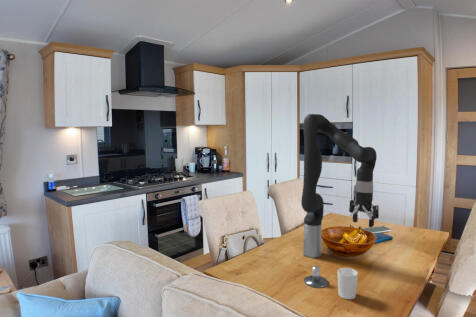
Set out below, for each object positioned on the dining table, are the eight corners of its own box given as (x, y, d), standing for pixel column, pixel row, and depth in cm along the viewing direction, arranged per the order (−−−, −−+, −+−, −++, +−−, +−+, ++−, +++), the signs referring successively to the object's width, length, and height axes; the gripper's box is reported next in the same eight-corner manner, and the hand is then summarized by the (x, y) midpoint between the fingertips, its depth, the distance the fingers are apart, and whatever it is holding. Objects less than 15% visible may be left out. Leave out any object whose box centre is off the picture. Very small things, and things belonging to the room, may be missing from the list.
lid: (302, 286, 139) (302, 271, 138) (305, 275, 149) (305, 261, 148) (327, 289, 136) (327, 274, 135) (328, 278, 146) (328, 263, 145)
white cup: (334, 290, 135) (334, 268, 134) (352, 289, 135) (352, 267, 134) (341, 301, 127) (342, 276, 126) (360, 299, 127) (361, 275, 126)
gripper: (346, 188, 152) (345, 221, 153) (372, 194, 139) (371, 230, 141) (356, 186, 155) (355, 219, 157) (383, 192, 143) (381, 227, 145)
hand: (362, 224), depth 149 cm, fingers open, 8 cm apart
